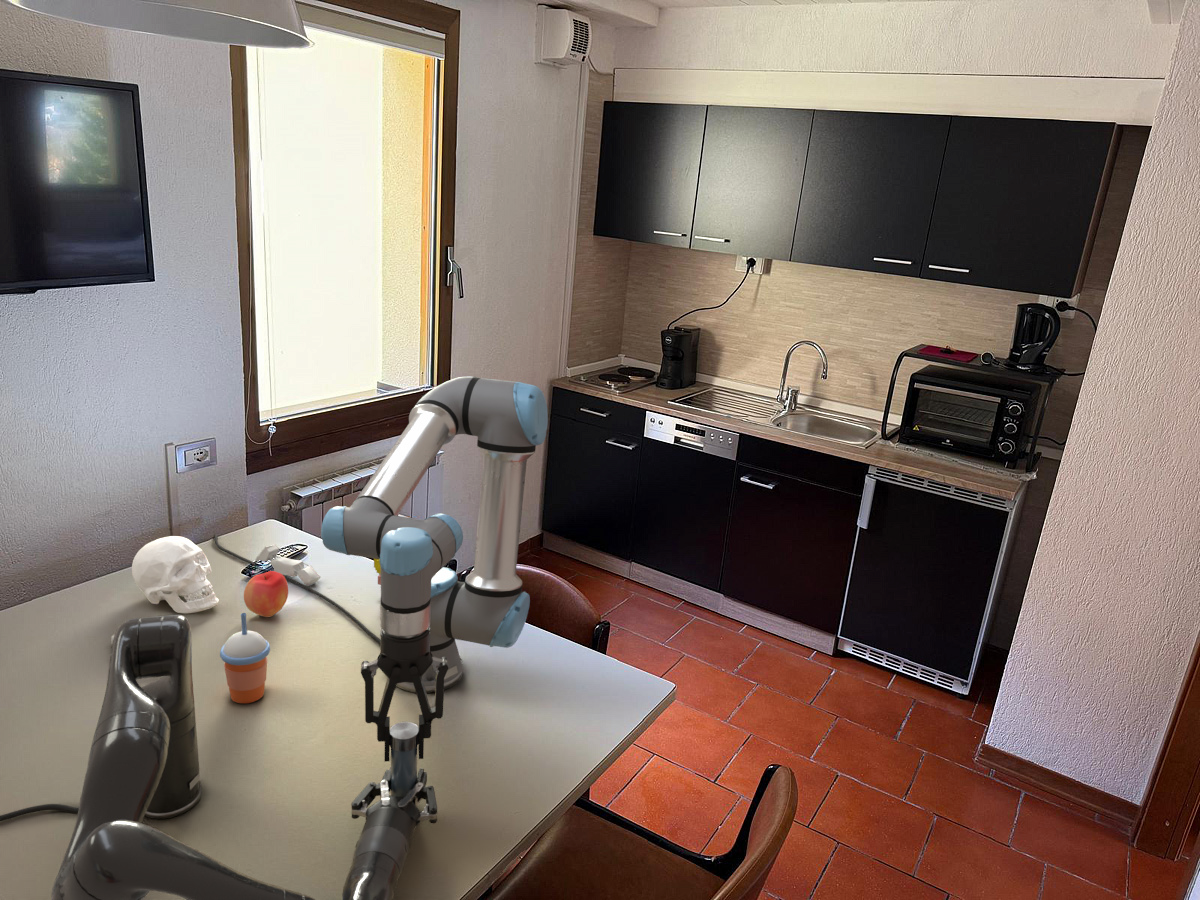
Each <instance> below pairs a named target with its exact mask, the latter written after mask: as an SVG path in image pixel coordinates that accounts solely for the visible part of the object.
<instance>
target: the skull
mask: <svg viewBox="0 0 1200 900" xmlns="http://www.w3.org/2000/svg"><path fill="white" fill-rule="evenodd" d="M131 574H132V579H133V581H134V583H135V585H136V586H137V588H138V589H139V590H140V591H141V593H142V594H143V596H144V597H145V598H146V599H147V601H149V602H150V603H151V605H153V604H154V605H159V603H160V601H166V603H168V605H169V607H171V608H172V610H173V612H175V613H177V614H183V615H185V614H193V613H199V612H202V611H206V610H209V609H211V608H214V607H216V606H218V604H219V603H220V601H219V600H220V599H219V598H218V597H217V596H216V593H215V591H214V590H213V588H214V586H213V585H212V583H211V582H210V581H209V579H208V578H207V577H208V575H210V574H212V567H211V564H210V562H209V560H208V558H207V555H206V554H205V552H204V551H203V549H201V548H200V547H199V546H198V545H196V544H195V543H194V542H193V541H192V540H191V539H189V538H187V537H184V536H181V535H180V536H178V535H169V536H164V537H160V538H157V539H154V540H152V541H150V542H148V543H146V544H144V545H143V546H142V547H141V548H140V549H139V550H138V551H137V553H136V554H135V556H134V557H133V560H132V564H131ZM177 593H178V594H177ZM179 596H181V597H184V600H185V601H184V600H182V599H181V598H180V597H179ZM180 610H182V611H180ZM191 610H192V611H191Z"/></svg>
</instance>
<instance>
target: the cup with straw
mask: <svg viewBox="0 0 1200 900" xmlns="http://www.w3.org/2000/svg"><path fill="white" fill-rule="evenodd" d="M240 620H241V622H240V623H241V631H238V632H236V633H234V634H232V635H230V636H229V638H228V639H227V640H226V641H225V643H224V644H223V645H222V646H221V648H220V651H219V656H220V659H221V661H222V662H224V663H223V667H224V673H225V678H226V684H227V686H228V689H229V695H230V698H231V700H232V701H233V702H235V703H237V704H250V703H255V702H256V701H258V700H260V699H262V698H263V696H264V694H265V685H266V681H267V672H268V671H267V670H268V656H269V655H270V652H271V644H270V643H269V641H268V640H267V639H265V638H264V636H263V635H261V634H260V633H259V632H257V631H255V630H249V629H248V625H247V613H246V612H242V613H240Z"/></svg>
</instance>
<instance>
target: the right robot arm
mask: <svg viewBox="0 0 1200 900" xmlns="http://www.w3.org/2000/svg"><path fill="white" fill-rule="evenodd" d="M409 412H410V413H409V415H408V424H407V426H406V427H405V429H404V430H403V431H402V433H401V434H400V436H399V437H398V438H397V440H396V441H395V443H394V444H393V446H392V447H391V448H390V449H389V451H388V453H387V454H386V456H384V459H383V460H382V461H381V463H380V464H379V465H378V467H377V468H376V470H375V472H373V474H372V476H370V478H369V480H368V482H367V483H366V484H365V486H364V487H363V489H362V490H361V491H360V493H359V494H358V496H357V497H356V498H355V500H354V501H353V502H352V504H351V505H350V506H349V507H348V506H346V505H343V506H338V505H337V506H334V507H331V508H329V510H328V511H327V512H326V513H325V515H324V517H323V520H322V523H321V527H320V530H321V531H320V537H321V541H322V545H323V546H324V547H325V549H327V550H329V551H331V552H336V553H339V554H343V555H345V556H354V557H355V556H356V557H360V558H361V557H362V558H367V559H373V560H374V559H380V565H381V585H380V603H379V604H380V605H379V607H380V608H379V609H380V611H379V612H380V618H379V619H380V621H379V622H380V635H379V636H380V638H379V637H378V636H376V635H375V634H374V633H373V632H372V631H371V630H369V629H368V628H367V627H366V626H365V625H364V624H363V623H362V622H361V621H360V620H359V619H357V618H356V617H355V616H354V615H353V614H352V613H350V612H349V611H347V610H346V609H345V608H344V607H343V606H341V605H339V604H338V603H337V602H335V601H334V600H332V599H331V598H329V597H327V596H326V595H325V594H323V593H321V592H320V591H318V590H316V589H313V588H311V587H309V586H306V585H305V584H304V583H302V582H300V581H297V580H295V579H293V578H291V577H290V576H287V575H283V576H284V577H285V579H286V581H287V582H289V583H292V584H294V585H296V586H298V587H300V588H303V589H305V590H306V591H308V592H311V593H312V594H314V595H316V596H318V597H319V598H321V599H323V600H324V601H326V602H328V603H329V604H330V605H332V606H334V608H336V609H337V610H339V611H341V612H342V613H343V614H344V615H346V616H347V617H348V618H349V619H351V621H353V622H355V624H356V625H357V626H359V627H360V628H361V629H362V630H363V631H364V632H365V633H366V634H367V635H369V636H370V637H371V638H372V639H373V640H374V641H376V642H377V643H378V644H379V645H380V646H379V647H380V648H379V650H380V652H379V654H378V656H377V658H376V659H375V660H372V661H368V660H362V662H361V664H360V665H361V666H360V674H361V676H362V679H363V681H364V700H365V701H364V719H365V720H364V721H365V723H366V724H372V723H373V724H375V725H376V739H377V742H379V743H382V742H384V762H390V755H391V747H390V728H391V716H388V714H389V711H390V707H391V703H392V700H393V696H394V693H395V690H396V688H397V687H398V688H399V689H401V690H404V691H407V692H410V693H415V694H416V697H417V700H418V704H419V708H420V711H421V712H420V713H421V714H418V727H419V744H418V745H417V752H418V760H424V752H425V751H424V750H425V748H424V747H425V739H430V738H431V737H432V723H433V720H435V719H438V720H440V719H443V717H444V701H445V700H444V698H445V697H444V693H445V690H447V689H450V688H451V687H453V686H455V685H456V684H457V683H458V682H459V681H460V680H461V679H462V676H463V672H464V664H463V660H462V657H461V656H460V653H459V649H458V646H457V642H456V640H459V641H464V642H469V643H473V644H478V645H484V646H489V647H490V648H492V647H497V648H504V649H505V648H506V649H507V648H511V647H513V646H514V645H515V644H516V643H517V641H518V640H519V638H520V636H521V634H522V631H523V629H524V627H525V624H526V621H527V618H528V614H529V610H530V606H531V605H530V603H531V600H530V599H531V598H530V597H531V596H530V594H529V593H527V592H526V591H523V580H522V579H521V578H520V576H518V575H517V566H518V565H517V564H518V555H519V545H520V534H521V523H522V515H523V514H522V512H523V503H524V493H525V485H526V484H525V483H526V482H525V481H526V471H527V462H528V459H529V458H531V457H532V456H533V455H534V454H535V453H536V449H537V448H536V447H537V446H540V445H542V444H543V443H544V442H545V440H546V437H547V430H548V423H549V418H548V417H549V415H548V412H549V411H548V405H547V400H546V396H545V393H544V392H543V391H542V389H541V387H540V388H539V386H536V385H534V384H529V383H526V382H521V381H513V380H512V381H511V380H504V379H503V380H502V379H494V378H493V379H492V378H485V377H478V376H472V375H471V376H458V377H455V378H451V379H450V380H447V381H445V382H443V383H441V384H439V385H437V386H435V387H434V388H432V389H431V390H429V391H428V392H427V393H425V394H424V395H422V397H421V398H420V399H419V400H418V401H417V402H416V404H415V405H414V406H413V408H412V409H411V410H410V411H409ZM457 435H467V436H473V437H477V440H476V441H477V442H476V448H477V449H478V451H480V452H481V454H482V455H483V461H482V474H481V482H480V483H481V485H480V495H479V507H478V517H477V518H478V519H477V527H476V528H477V530H476V541H475V553H474V562H473V563H474V564H473V570H472V571H471V572H470V573H468V574H467V575H466V576H465V580H464V581H459V580H458V578H459V577H458V575H457V572H456V571H455V570H453V569H451V568H450V567H445V566H446V565H447V564H448V563H449V562H450V561H452V560H453V559H454V557H455V556H456V554H457V553H458V551H459V550H460V548H461V547H462V545H463V541H464V532H463V529H462V526H461V525H460V523H459V522H458V521H457V520H456V518H455V517H452V516H451V515H449V514H446V513H434V514H433V515H430V516H428V517H426V518H424V519H420V518H413V517H409V516H408V517H407V516H400V513H401V512H402V510H403V509H404V507H405V506H406V504H407V503H408V501H409V499H410V498H411V496H412V494H413V493H414V491H415V490H416V488H417V487H418V485H419V484H420V482H421V480H422V478H423V477H424V476H425V474H426V472H427V471H428V469H429V467H430V466H431V465H432V464H433V461H434V460H435V458H436V457H437V455H438V454H439V452H440V451H441V449H442V447H443V446H444V445H447V444H449V443H451V442H452V441H453V440H454V438H455V437H456V436H457ZM213 540H214V544H215V547H216V548H217V549H219V550H220V551H222V552H224V553H226V554H229V555H230V556H232V557H234V558H236V559H238V560H240V561H243V562H245V563H247V564H248V565H251V564H252V563H255V561H252V560H250V559H247V558H245V557H243V556H241V555H239V554H237V553H235V552H233V551H231V550H229V549H227V548H225V547H223V546H221V544H219V539H218V535H217V534H214V535H213ZM270 571H271V570H270ZM378 669H379V670H380V671H381V672H382V673H383V674H384V675H385V677H386V683H385V685H384V690H383V693H382V696H381V700H380V703H379V707H378V710H375V709H374V708H375V704H374V703H375V699H374V697H375V695H374V694H375V693H374V690H375V688H374V685H375V684H374V683H375V681H374V678H375V676H376V675H377V670H378ZM430 693H431V694H432V693H434V695H435V696H434V706H433V707H431V704H430V702H429V701H430V700H429V697H428V694H430Z"/></svg>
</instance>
